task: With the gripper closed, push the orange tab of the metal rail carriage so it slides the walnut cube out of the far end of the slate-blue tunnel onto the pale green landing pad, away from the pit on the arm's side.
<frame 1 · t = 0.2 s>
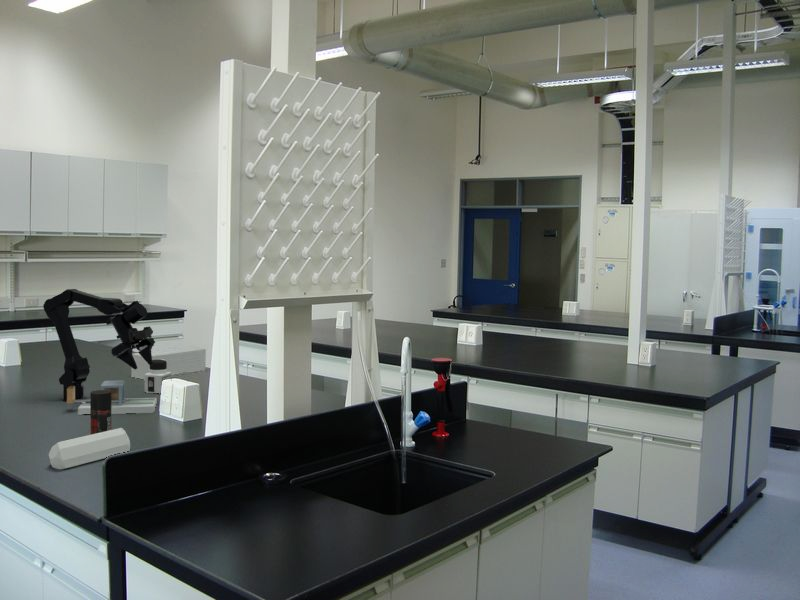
hand: (144, 367, 265), 15 cm above the worktop, tool tilted 30°, fingers open, 9 cm apart
grey boxy piece: (169, 375, 329), on the worktop
container: (158, 392, 292), on the worktop
deodorant: (101, 440, 222), on the worktop
block: (112, 399, 260), point 4 cm above the worktop, touching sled
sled: (97, 394, 259), point 6 cm above the worktop, slide at 0.0 cm, touching block
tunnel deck: (120, 409, 261), on the worktop
crystal: (91, 460, 204), on the worktop
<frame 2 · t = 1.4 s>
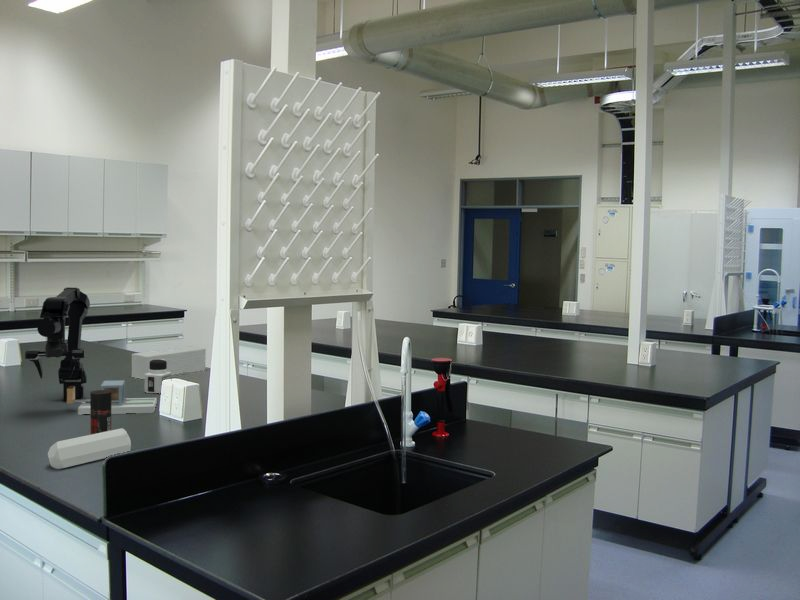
hand: (56, 378, 254), 12 cm above the worktop, tool pointing down, fingers open, 9 cm apart
nothing on the worktop moved.
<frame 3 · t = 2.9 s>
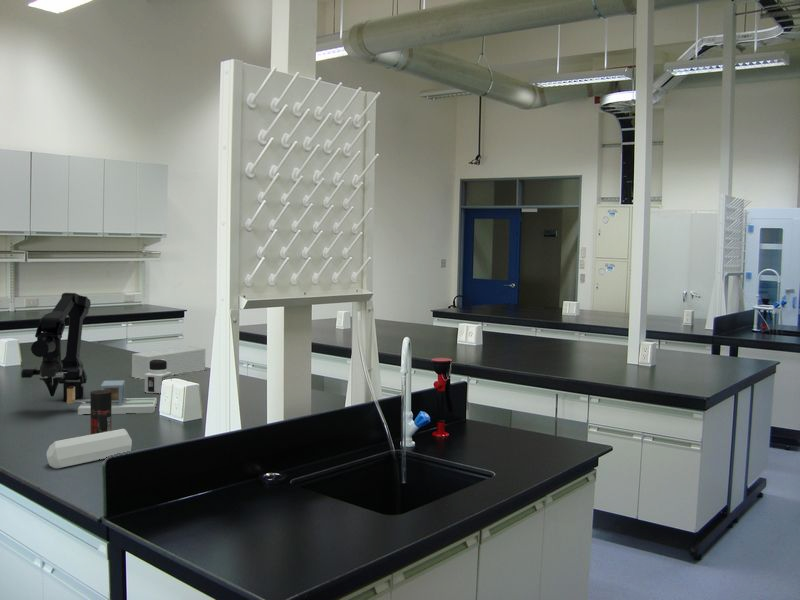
hand: (52, 396, 255), 5 cm above the worktop, tool pointing down, fingers closed
nothing on the worktop moved.
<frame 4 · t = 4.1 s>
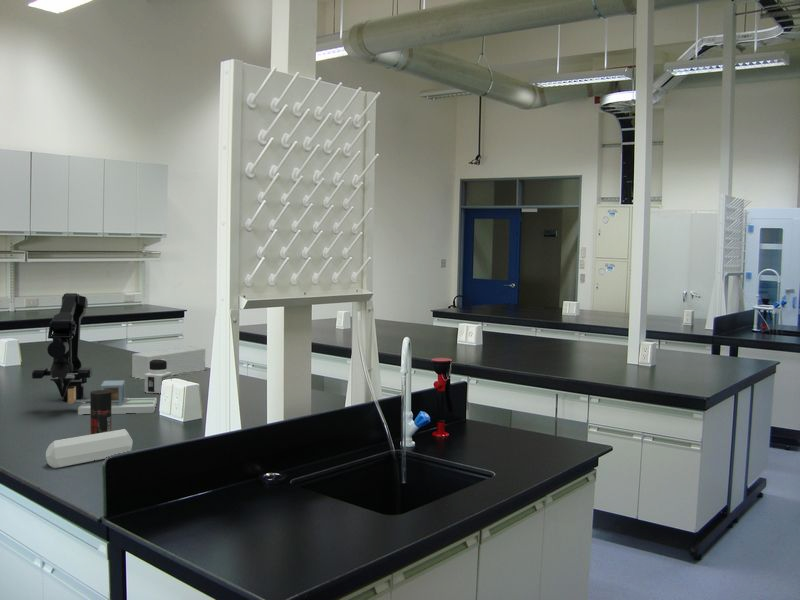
hand: (62, 396, 256), 5 cm above the worktop, tool pointing down, fingers closed
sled: (98, 394, 259), point 6 cm above the worktop, slide at 0.3 cm, touching block, gripper
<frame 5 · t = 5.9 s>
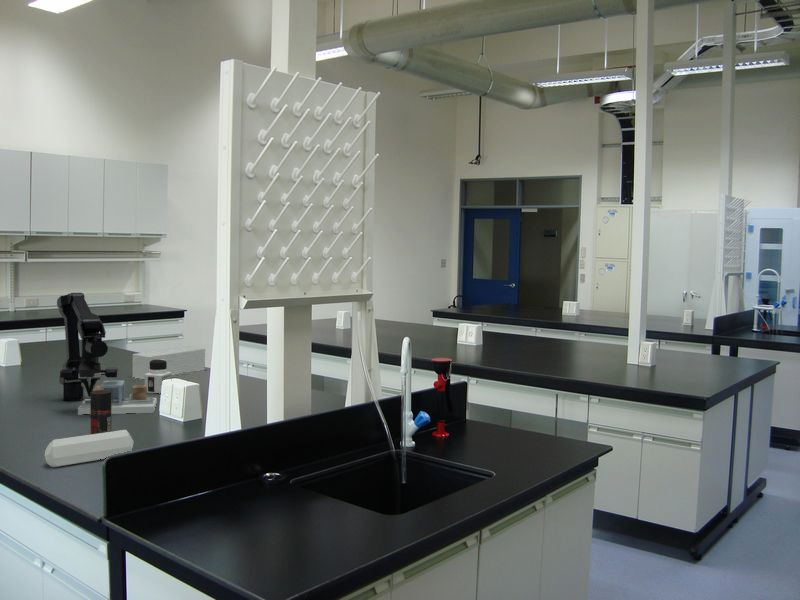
hand: (89, 396, 258), 5 cm above the worktop, tool pointing down, fingers closed
block: (139, 398, 262), point 4 cm above the worktop, touching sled
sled: (124, 393, 261), point 6 cm above the worktop, slide at 9.1 cm, touching block, gripper
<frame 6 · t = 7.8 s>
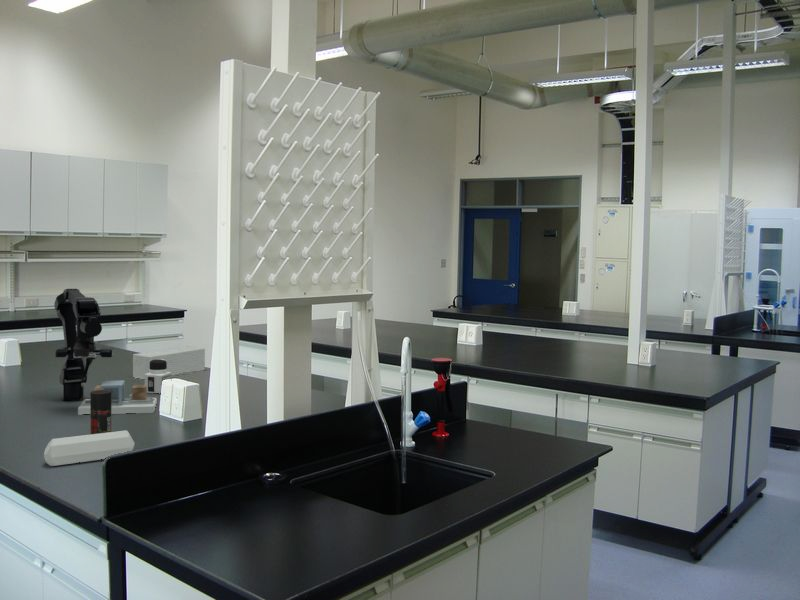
hand: (85, 375, 260), 12 cm above the worktop, tool pointing down, fingers closed
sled: (124, 393, 261), point 6 cm above the worktop, slide at 9.0 cm, touching block
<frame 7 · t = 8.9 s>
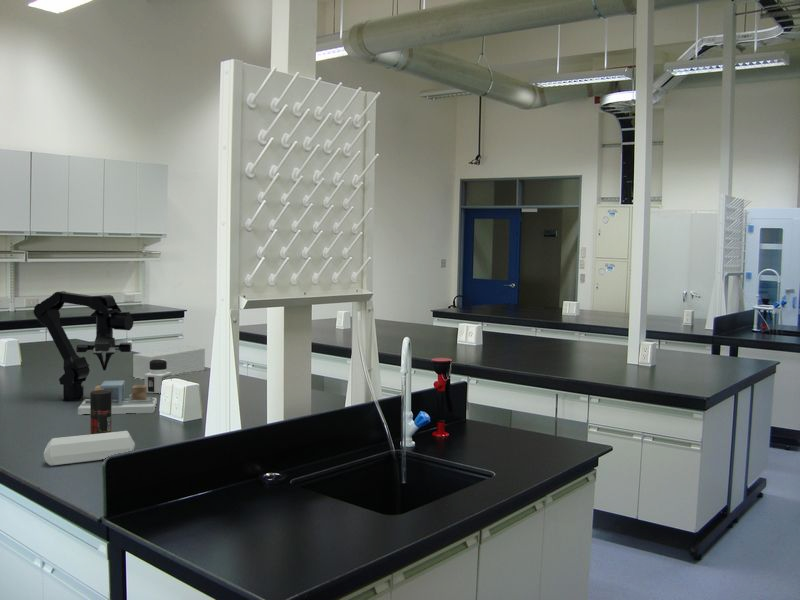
hand: (104, 370, 271), 12 cm above the worktop, tool pointing down, fingers closed
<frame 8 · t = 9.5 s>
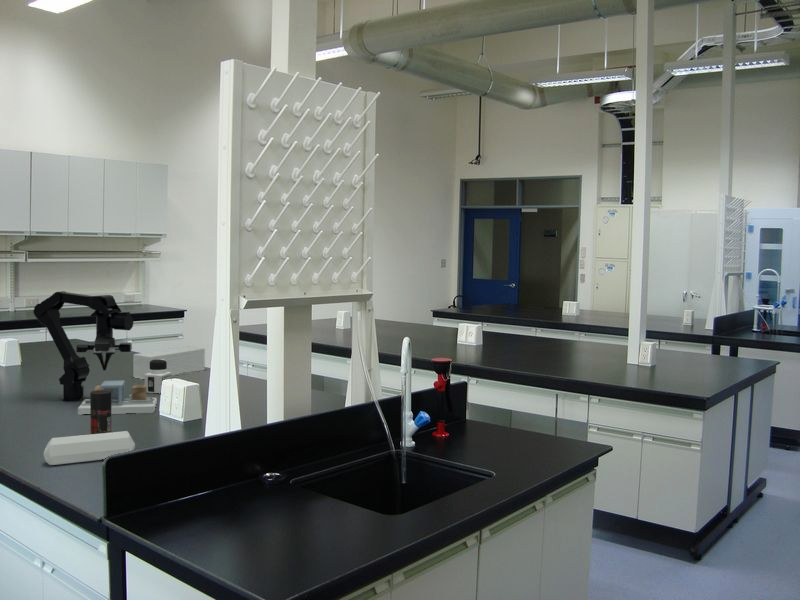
hand: (104, 370, 271), 12 cm above the worktop, tool pointing down, fingers closed
at the end: block 1.0 cm from the target spot on the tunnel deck, point 3.8 cm above the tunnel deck's base; block tilted 0°; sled slide at 9.0 cm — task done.
